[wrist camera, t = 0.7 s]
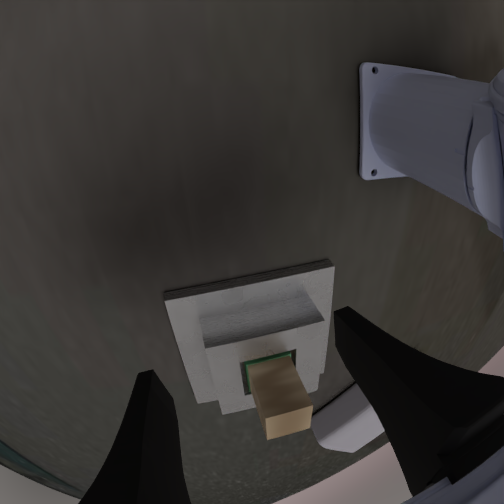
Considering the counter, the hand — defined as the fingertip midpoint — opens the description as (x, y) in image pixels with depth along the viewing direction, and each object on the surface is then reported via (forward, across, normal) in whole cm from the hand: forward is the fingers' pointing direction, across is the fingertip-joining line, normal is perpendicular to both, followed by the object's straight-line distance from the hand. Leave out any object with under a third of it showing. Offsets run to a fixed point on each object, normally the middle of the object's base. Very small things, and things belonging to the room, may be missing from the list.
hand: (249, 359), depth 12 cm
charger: (+11, -13, +26) cm, 31 cm away
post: (+9, -1, +10) cm, 13 cm away
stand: (+10, -1, +10) cm, 14 cm away
